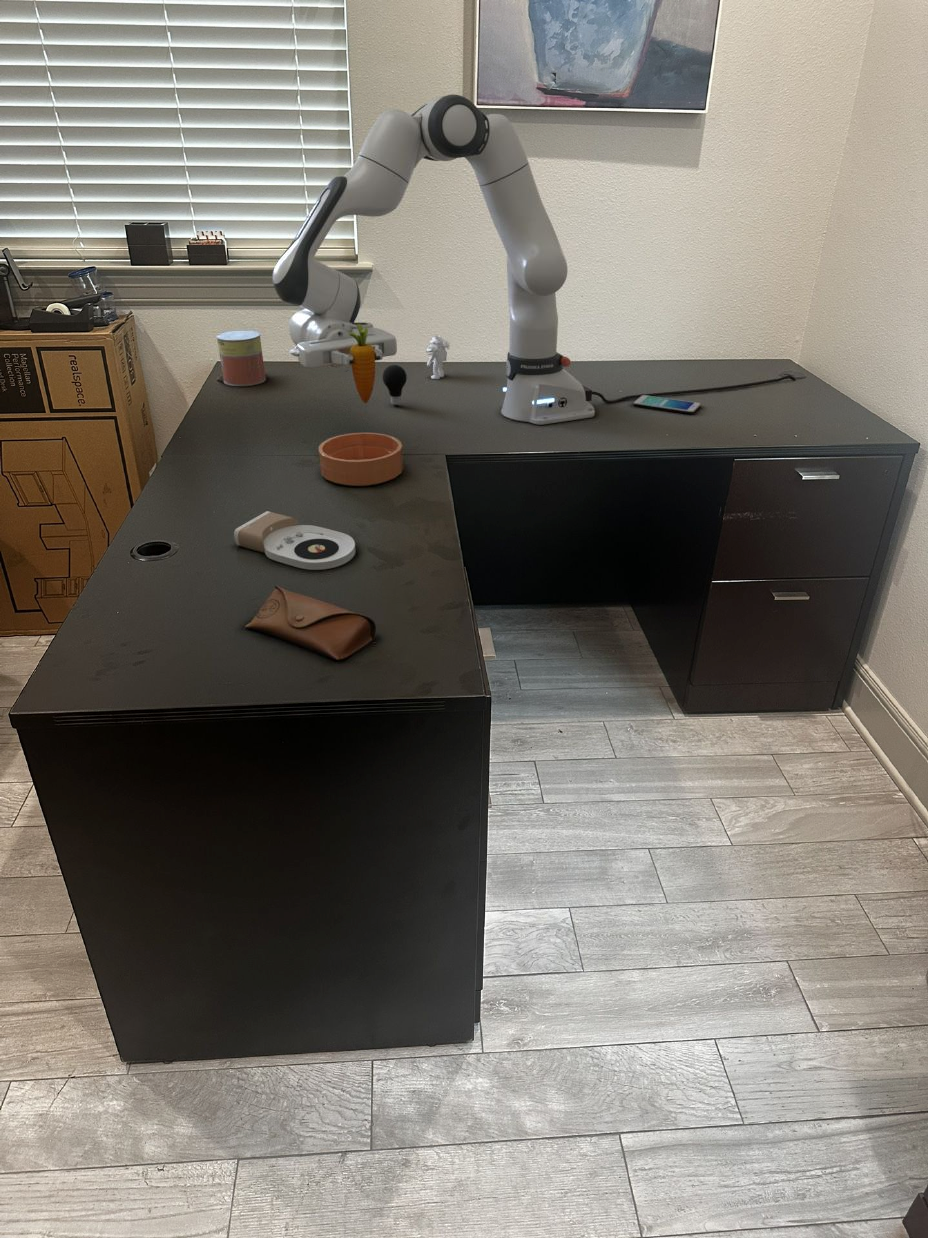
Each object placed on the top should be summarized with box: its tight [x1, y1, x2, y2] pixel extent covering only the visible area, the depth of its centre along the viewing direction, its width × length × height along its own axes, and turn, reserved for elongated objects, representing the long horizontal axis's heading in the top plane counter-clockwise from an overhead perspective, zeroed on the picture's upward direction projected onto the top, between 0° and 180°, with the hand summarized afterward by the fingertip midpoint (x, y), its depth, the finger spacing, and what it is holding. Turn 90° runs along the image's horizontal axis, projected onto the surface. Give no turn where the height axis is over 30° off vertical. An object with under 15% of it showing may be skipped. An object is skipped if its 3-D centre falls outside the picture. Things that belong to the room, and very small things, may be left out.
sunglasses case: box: [244, 585, 377, 661], centre depth 118 cm, size 18×7×7 cm
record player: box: [233, 510, 356, 571], centre depth 140 cm, size 12×3×20 cm
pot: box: [318, 432, 404, 487], centre depth 168 cm, size 17×17×6 cm
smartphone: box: [633, 395, 702, 415], centre depth 205 cm, size 7×1×15 cm
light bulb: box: [382, 364, 408, 407], centre depth 204 cm, size 6×6×10 cm
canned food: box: [216, 329, 267, 387], centre depth 224 cm, size 11×11×12 cm
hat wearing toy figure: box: [425, 334, 451, 380], centre depth 226 cm, size 9×4×12 cm, turn 148°
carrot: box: [349, 324, 376, 404], centre depth 162 cm, size 5×5×15 cm
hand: (365, 358), depth 161 cm, fingers closed on carrot, 5 cm apart
